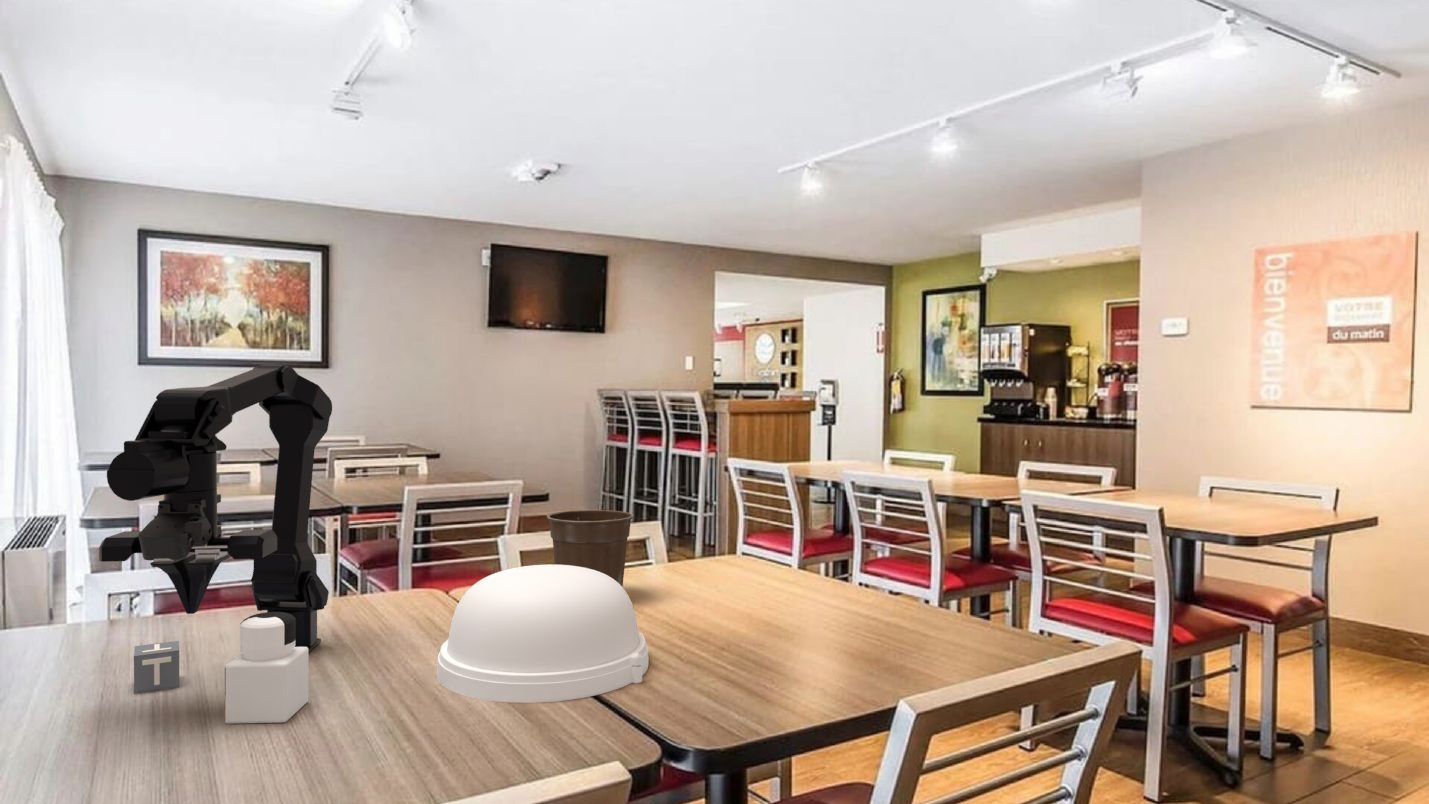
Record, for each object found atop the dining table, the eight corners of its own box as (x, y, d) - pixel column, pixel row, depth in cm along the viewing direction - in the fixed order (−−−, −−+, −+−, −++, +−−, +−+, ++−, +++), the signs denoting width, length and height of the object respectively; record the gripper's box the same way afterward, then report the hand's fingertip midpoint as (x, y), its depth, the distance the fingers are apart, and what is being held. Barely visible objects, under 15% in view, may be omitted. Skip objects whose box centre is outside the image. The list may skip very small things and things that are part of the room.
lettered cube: (135, 683, 117) (135, 645, 117) (178, 676, 120) (178, 639, 120) (133, 695, 113) (133, 655, 113) (179, 688, 116) (179, 649, 115)
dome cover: (689, 654, 133) (690, 562, 133) (581, 721, 106) (582, 606, 106) (518, 627, 147) (519, 544, 146) (383, 681, 119) (383, 579, 119)
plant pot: (561, 587, 175) (562, 507, 175) (640, 591, 173) (641, 509, 172) (534, 608, 159) (534, 519, 158) (620, 612, 157) (621, 522, 156)
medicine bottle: (250, 702, 110) (251, 608, 110) (309, 701, 111) (309, 607, 111) (223, 724, 103) (223, 623, 103) (286, 723, 104) (286, 622, 104)
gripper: (71, 499, 100) (73, 634, 101) (244, 497, 103) (245, 629, 103) (123, 487, 111) (124, 608, 112) (278, 485, 114) (279, 604, 114)
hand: (191, 613), depth 110 cm, fingers closed
